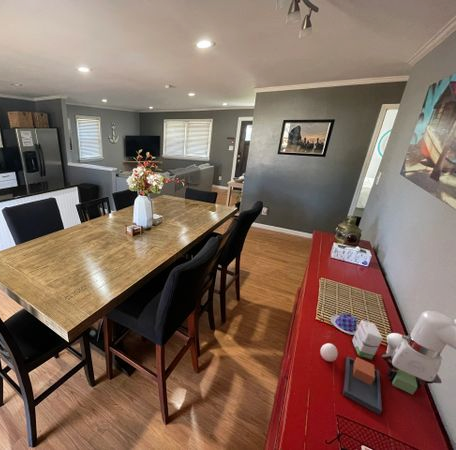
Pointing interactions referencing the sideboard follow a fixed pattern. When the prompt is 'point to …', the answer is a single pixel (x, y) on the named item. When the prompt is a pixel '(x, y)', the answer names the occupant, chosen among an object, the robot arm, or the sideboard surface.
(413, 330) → the robot arm
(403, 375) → the green block
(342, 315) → the patterned bowl
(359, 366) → the orange block
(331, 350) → the egg
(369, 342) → the ink box
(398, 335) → the lightbulb
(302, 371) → the sideboard surface
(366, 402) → the holder
